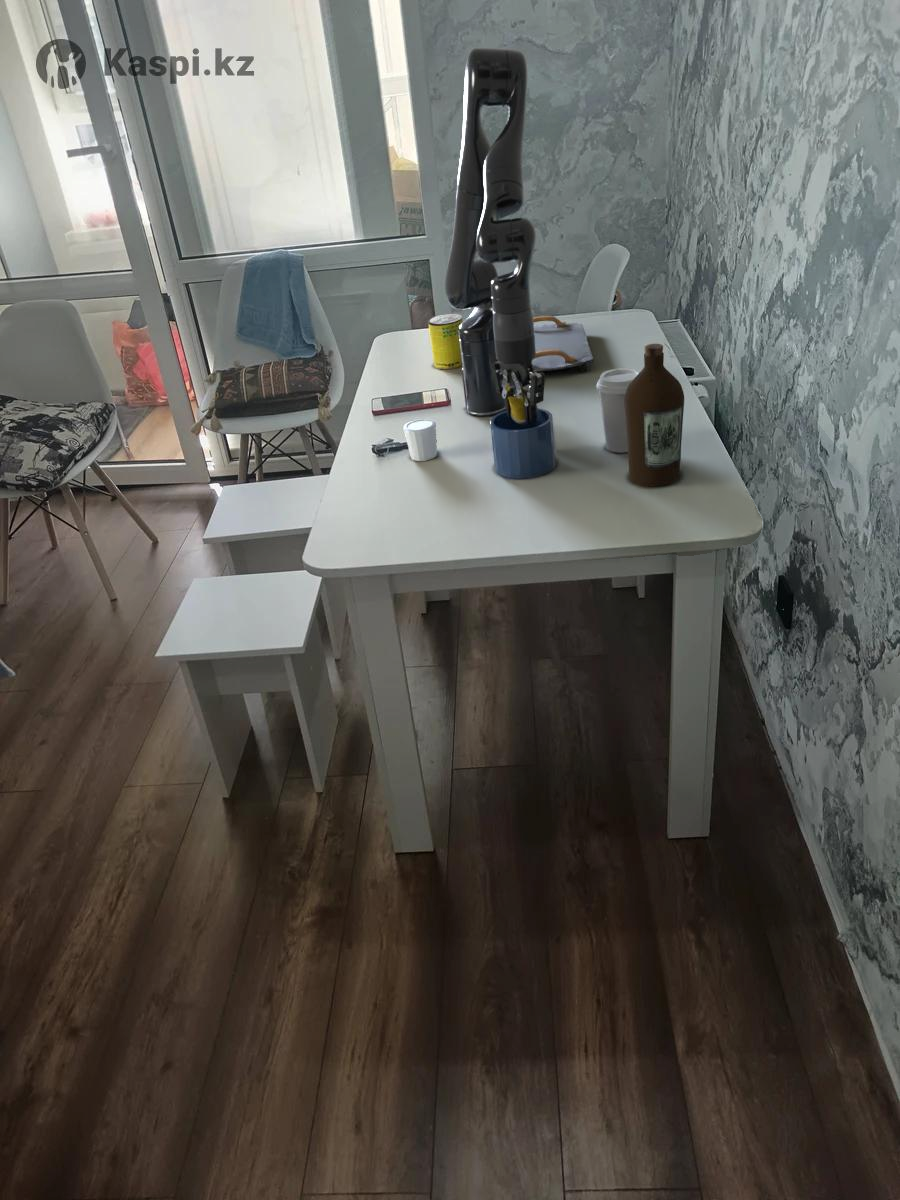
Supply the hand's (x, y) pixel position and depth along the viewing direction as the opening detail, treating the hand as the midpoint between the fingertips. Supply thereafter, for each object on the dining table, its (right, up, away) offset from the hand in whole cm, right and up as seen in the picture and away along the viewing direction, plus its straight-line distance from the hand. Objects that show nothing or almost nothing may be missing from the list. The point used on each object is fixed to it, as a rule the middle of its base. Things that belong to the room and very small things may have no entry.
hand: (521, 418), depth 179 cm
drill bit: (+1, -1, 0) cm, 1 cm away
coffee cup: (+21, -4, +7) cm, 23 cm away
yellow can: (-14, +28, +67) cm, 74 cm away
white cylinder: (-20, -5, +16) cm, 26 cm away
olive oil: (+25, -12, -6) cm, 28 cm away
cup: (+1, -8, +5) cm, 10 cm away
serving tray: (+11, +29, +63) cm, 70 cm away
